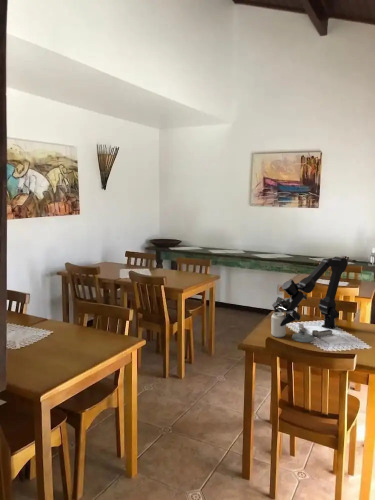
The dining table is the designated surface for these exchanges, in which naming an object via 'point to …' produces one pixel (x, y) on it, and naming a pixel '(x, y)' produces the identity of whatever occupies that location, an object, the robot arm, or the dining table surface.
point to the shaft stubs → (315, 331)
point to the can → (278, 324)
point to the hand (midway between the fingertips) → (276, 323)
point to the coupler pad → (303, 337)
